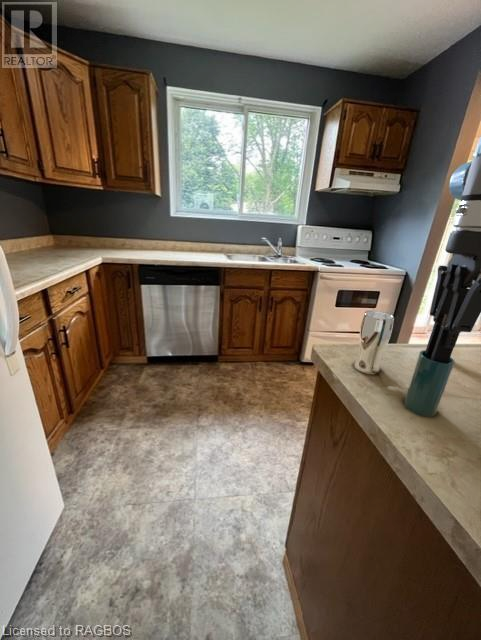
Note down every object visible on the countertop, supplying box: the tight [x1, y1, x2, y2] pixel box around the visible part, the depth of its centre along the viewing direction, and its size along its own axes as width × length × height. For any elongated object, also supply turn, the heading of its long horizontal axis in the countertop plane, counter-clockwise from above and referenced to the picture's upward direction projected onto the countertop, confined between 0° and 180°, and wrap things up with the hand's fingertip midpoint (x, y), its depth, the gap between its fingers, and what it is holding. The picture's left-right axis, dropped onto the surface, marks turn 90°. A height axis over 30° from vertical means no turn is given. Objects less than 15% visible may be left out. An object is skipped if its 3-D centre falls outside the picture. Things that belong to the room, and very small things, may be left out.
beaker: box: [404, 349, 456, 417], centre depth 55 cm, size 6×6×12 cm
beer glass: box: [354, 310, 395, 375], centre depth 69 cm, size 7×7×15 cm
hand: (436, 357), depth 53 cm, fingers closed
